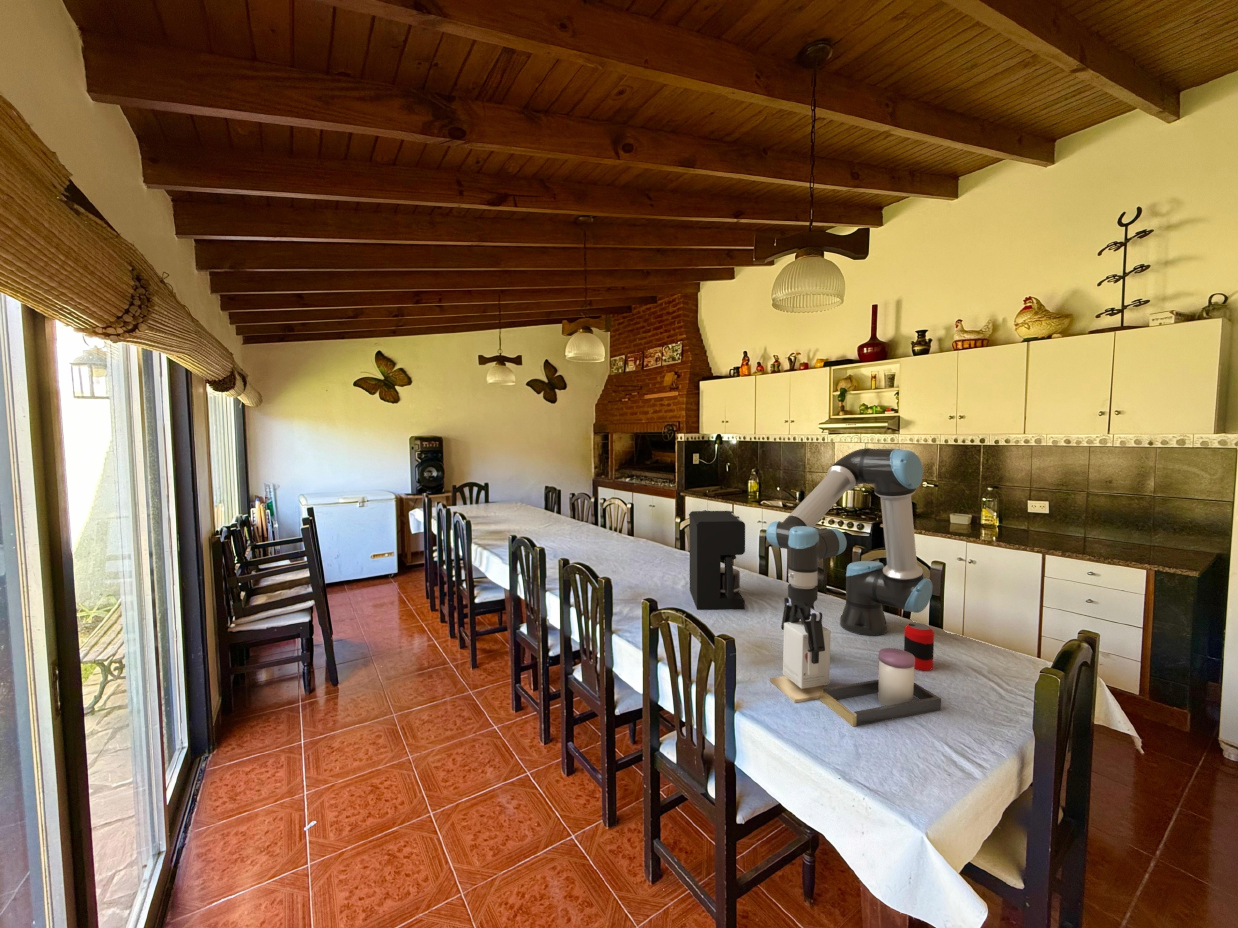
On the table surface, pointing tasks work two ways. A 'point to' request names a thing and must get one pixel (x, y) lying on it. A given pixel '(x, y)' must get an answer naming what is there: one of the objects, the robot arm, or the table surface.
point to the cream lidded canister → (895, 676)
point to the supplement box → (804, 656)
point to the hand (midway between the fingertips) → (801, 665)
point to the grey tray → (878, 714)
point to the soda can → (920, 645)
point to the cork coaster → (796, 689)
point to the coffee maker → (715, 559)
